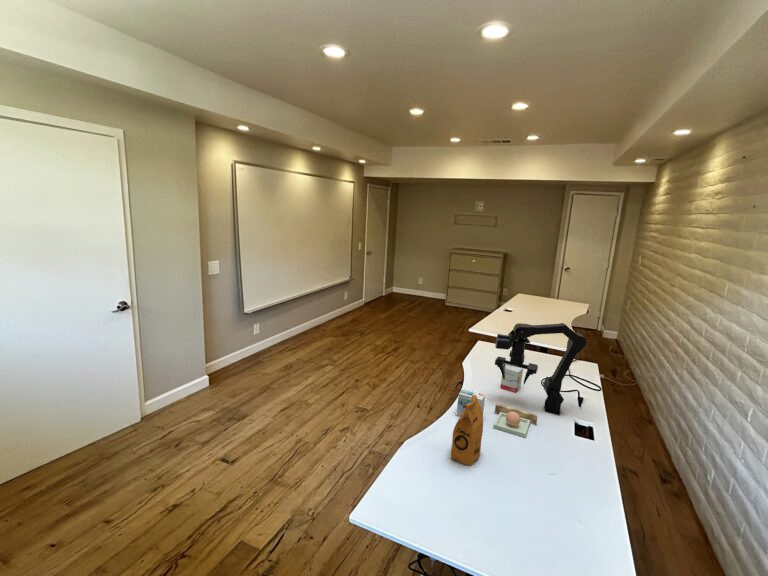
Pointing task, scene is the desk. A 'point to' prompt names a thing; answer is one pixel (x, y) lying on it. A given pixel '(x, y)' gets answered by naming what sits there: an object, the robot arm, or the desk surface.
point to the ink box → (512, 378)
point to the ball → (513, 418)
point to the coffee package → (468, 434)
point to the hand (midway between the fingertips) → (513, 381)
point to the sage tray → (516, 430)
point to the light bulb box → (468, 400)
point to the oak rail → (521, 413)
